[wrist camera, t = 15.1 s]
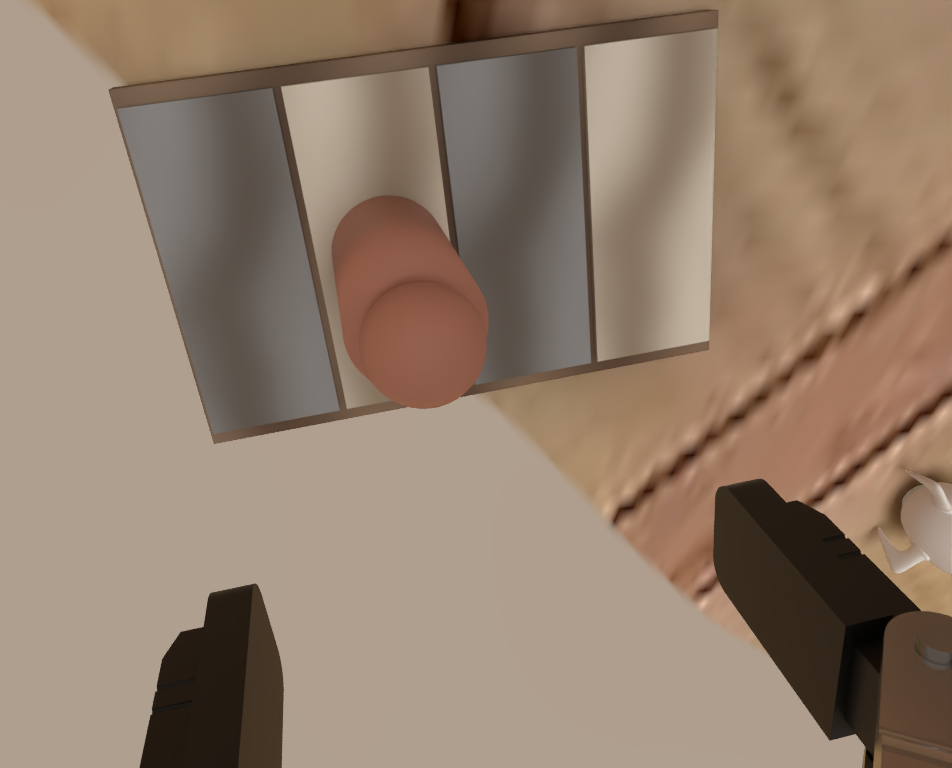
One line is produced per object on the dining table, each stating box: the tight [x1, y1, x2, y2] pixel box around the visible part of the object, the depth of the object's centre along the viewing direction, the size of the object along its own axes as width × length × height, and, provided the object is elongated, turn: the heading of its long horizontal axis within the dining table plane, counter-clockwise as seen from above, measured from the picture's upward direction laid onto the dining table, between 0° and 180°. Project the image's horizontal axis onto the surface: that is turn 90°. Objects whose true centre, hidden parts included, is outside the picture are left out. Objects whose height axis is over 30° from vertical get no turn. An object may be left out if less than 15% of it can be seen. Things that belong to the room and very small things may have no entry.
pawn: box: [332, 195, 489, 409], centre depth 26 cm, size 4×4×11 cm
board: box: [109, 10, 718, 444], centre depth 32 cm, size 22×14×1 cm, turn 96°
